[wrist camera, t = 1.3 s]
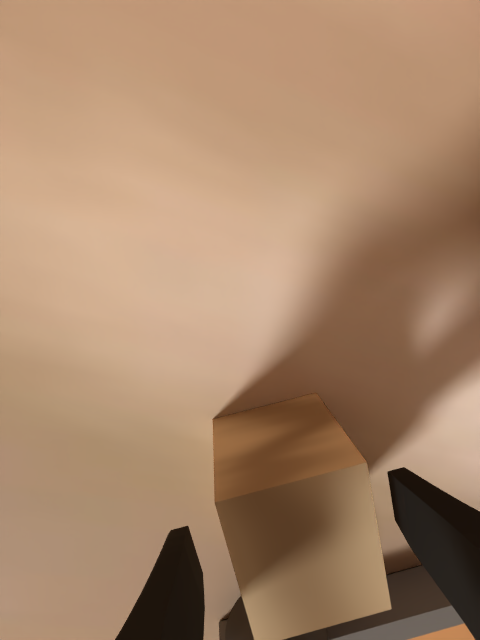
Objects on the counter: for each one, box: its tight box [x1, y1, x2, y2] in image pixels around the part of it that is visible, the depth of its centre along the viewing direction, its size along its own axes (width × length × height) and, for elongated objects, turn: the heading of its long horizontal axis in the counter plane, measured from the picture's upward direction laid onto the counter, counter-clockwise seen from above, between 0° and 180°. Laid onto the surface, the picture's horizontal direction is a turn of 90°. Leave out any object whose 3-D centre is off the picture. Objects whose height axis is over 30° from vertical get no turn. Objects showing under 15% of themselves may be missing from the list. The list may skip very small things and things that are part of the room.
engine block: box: [213, 393, 392, 640], centre depth 13 cm, size 4×6×5 cm
